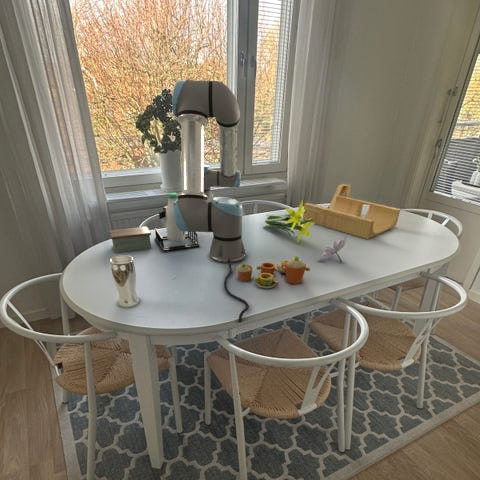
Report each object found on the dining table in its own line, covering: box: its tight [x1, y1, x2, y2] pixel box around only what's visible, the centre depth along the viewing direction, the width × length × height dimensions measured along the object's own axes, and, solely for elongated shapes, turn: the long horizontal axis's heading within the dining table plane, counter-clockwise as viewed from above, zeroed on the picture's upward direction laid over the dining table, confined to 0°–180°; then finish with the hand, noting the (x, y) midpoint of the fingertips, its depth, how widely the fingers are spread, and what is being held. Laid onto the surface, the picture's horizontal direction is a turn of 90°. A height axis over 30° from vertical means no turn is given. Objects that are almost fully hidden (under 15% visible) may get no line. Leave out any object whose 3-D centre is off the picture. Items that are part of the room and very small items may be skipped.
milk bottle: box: [165, 192, 186, 243], centre depth 149 cm, size 8×8×20 cm
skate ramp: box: [302, 180, 402, 240], centre depth 184 cm, size 40×35×16 cm
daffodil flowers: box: [262, 200, 316, 243], centre depth 163 cm, size 17×15×35 cm
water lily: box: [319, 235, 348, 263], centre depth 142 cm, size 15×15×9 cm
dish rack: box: [154, 227, 200, 253], centre depth 154 cm, size 17×16×6 cm
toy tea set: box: [236, 255, 311, 289], centre depth 125 cm, size 26×16×10 cm, turn 112°
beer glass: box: [109, 254, 140, 308], centre depth 107 cm, size 7×7×15 cm
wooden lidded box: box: [108, 226, 152, 254], centre depth 148 cm, size 9×16×7 cm, turn 114°
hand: (168, 216), depth 145 cm, fingers closed on milk bottle, 7 cm apart
